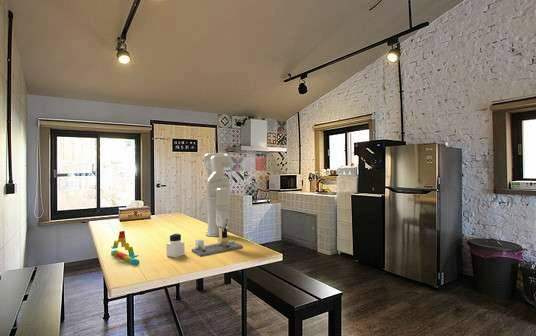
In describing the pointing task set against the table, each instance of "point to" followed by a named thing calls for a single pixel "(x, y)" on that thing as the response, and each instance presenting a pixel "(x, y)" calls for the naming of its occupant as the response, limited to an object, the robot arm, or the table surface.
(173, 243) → the medicine bottle
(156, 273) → the table surface
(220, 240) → the brass slider
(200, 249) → the bolt plate
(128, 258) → the multicolored stepped triangle frame
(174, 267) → the table surface
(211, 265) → the table surface
